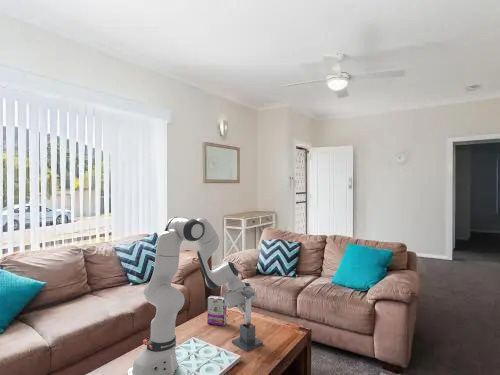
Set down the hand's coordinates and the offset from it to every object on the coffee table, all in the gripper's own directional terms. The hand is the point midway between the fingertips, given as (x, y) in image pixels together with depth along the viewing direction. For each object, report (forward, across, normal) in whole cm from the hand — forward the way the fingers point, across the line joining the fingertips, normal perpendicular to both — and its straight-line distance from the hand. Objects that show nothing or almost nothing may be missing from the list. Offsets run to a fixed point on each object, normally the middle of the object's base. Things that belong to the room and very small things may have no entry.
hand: (247, 311), depth 177 cm
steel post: (+10, 0, +9) cm, 13 cm away
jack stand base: (+13, 0, +12) cm, 18 cm away
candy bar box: (-10, +2, +35) cm, 36 cm away
